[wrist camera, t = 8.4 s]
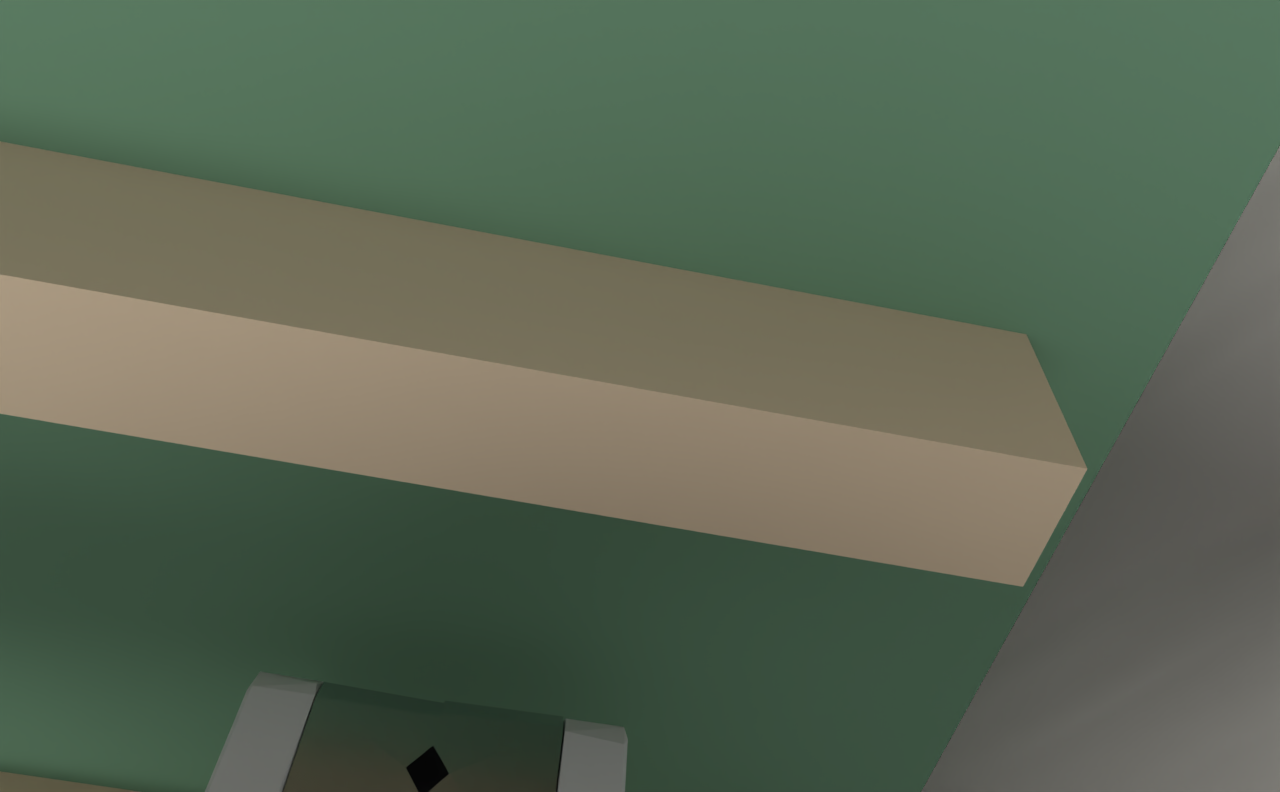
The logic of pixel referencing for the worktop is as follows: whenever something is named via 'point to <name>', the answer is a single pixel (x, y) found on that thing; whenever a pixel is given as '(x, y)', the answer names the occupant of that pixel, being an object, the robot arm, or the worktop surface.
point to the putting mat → (579, 356)
